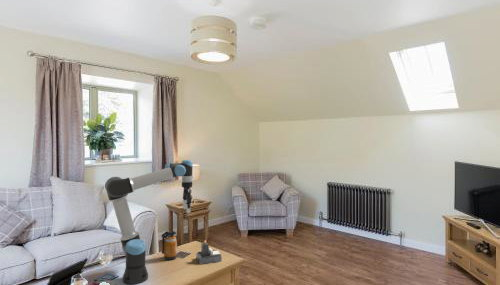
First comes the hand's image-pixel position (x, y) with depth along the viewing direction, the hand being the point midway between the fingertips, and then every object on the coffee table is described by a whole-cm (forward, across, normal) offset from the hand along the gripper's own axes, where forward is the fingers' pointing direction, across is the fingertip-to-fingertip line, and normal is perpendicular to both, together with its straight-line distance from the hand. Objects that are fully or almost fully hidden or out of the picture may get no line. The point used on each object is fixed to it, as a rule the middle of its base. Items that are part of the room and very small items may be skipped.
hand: (186, 210), depth 224 cm
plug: (+37, -3, -13) cm, 39 cm away
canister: (+37, +10, +11) cm, 40 cm away
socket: (+37, -3, -15) cm, 40 cm away
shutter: (+33, -3, -20) cm, 39 cm away
